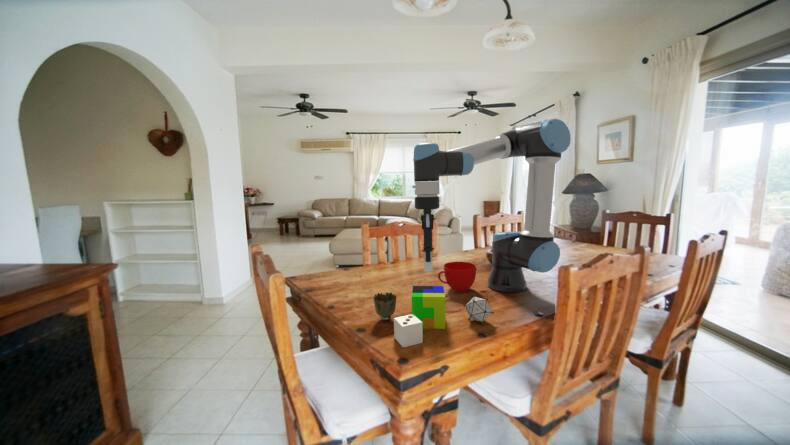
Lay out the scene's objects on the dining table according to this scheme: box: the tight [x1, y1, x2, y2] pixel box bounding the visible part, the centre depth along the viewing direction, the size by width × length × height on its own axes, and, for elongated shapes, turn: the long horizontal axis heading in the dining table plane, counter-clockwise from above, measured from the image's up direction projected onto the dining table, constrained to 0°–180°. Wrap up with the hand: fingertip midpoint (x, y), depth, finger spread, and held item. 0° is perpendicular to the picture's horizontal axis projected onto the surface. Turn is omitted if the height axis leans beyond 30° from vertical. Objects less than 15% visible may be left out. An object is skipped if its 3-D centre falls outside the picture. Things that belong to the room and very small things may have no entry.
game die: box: [462, 293, 495, 325], centre depth 97 cm, size 9×8×10 cm
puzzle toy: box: [411, 285, 446, 330], centre depth 98 cm, size 10×10×10 cm
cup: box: [373, 292, 397, 322], centre depth 99 cm, size 8×7×8 cm
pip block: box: [393, 313, 424, 348], centre depth 86 cm, size 6×6×6 cm
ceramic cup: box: [437, 261, 477, 293], centre depth 125 cm, size 13×17×10 cm
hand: (428, 271), depth 96 cm, fingers closed
